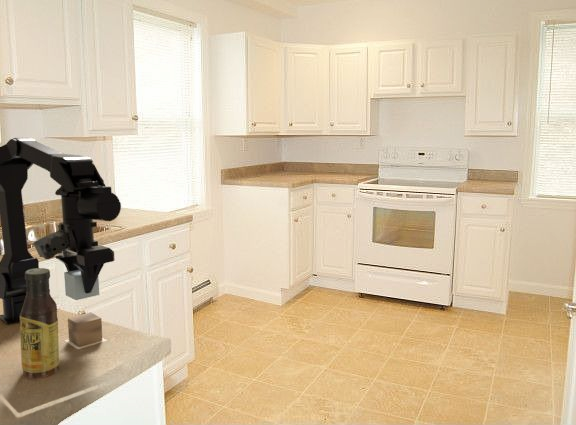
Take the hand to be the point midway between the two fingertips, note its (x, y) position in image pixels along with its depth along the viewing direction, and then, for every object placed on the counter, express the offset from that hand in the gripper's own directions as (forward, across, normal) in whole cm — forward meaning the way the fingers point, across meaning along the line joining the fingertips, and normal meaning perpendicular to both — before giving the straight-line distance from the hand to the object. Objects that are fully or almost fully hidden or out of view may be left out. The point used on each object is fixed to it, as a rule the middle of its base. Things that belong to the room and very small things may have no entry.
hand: (82, 290), depth 106 cm
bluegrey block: (+1, 0, 0) cm, 1 cm away
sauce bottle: (+12, +8, -12) cm, 19 cm away
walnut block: (+11, 0, 0) cm, 11 cm away
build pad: (+12, 0, 0) cm, 12 cm away
